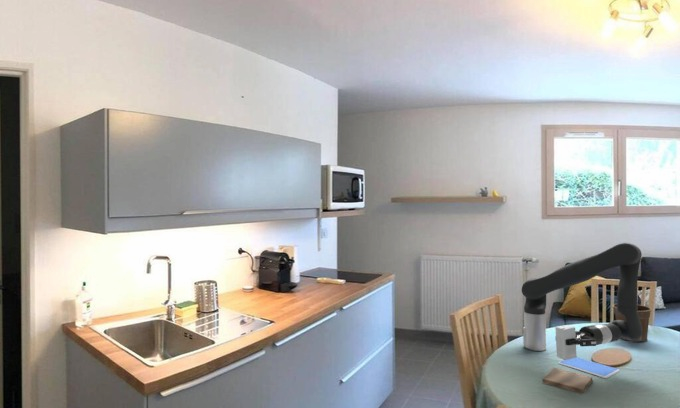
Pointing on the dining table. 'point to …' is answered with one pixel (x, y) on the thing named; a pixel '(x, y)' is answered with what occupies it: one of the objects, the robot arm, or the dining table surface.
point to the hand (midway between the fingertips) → (561, 340)
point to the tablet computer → (589, 367)
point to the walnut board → (568, 380)
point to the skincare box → (561, 347)
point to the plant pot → (643, 316)
